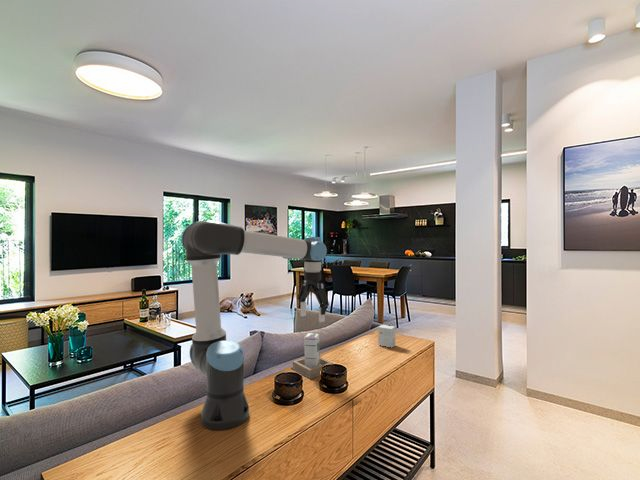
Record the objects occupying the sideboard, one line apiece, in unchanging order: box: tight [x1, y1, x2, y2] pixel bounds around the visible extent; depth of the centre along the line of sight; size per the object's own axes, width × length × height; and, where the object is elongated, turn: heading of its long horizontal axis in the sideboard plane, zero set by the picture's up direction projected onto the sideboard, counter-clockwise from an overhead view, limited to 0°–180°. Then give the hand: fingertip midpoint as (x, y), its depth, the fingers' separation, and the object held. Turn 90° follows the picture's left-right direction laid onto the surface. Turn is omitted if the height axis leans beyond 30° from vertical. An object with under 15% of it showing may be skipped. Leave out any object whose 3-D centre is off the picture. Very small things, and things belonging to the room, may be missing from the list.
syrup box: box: [303, 332, 321, 369], centre depth 146 cm, size 6×6×14 cm
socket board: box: [290, 356, 334, 379], centre depth 145 cm, size 14×14×3 cm
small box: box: [377, 324, 396, 348], centre depth 177 cm, size 8×6×10 cm
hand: (312, 318), depth 145 cm, fingers open, 13 cm apart
